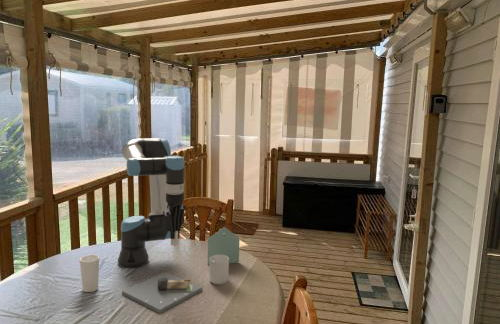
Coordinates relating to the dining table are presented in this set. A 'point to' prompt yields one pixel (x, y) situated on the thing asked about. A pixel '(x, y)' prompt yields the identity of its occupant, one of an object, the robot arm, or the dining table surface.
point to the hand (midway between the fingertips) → (174, 245)
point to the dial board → (160, 293)
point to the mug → (219, 269)
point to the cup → (89, 272)
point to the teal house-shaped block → (224, 245)
